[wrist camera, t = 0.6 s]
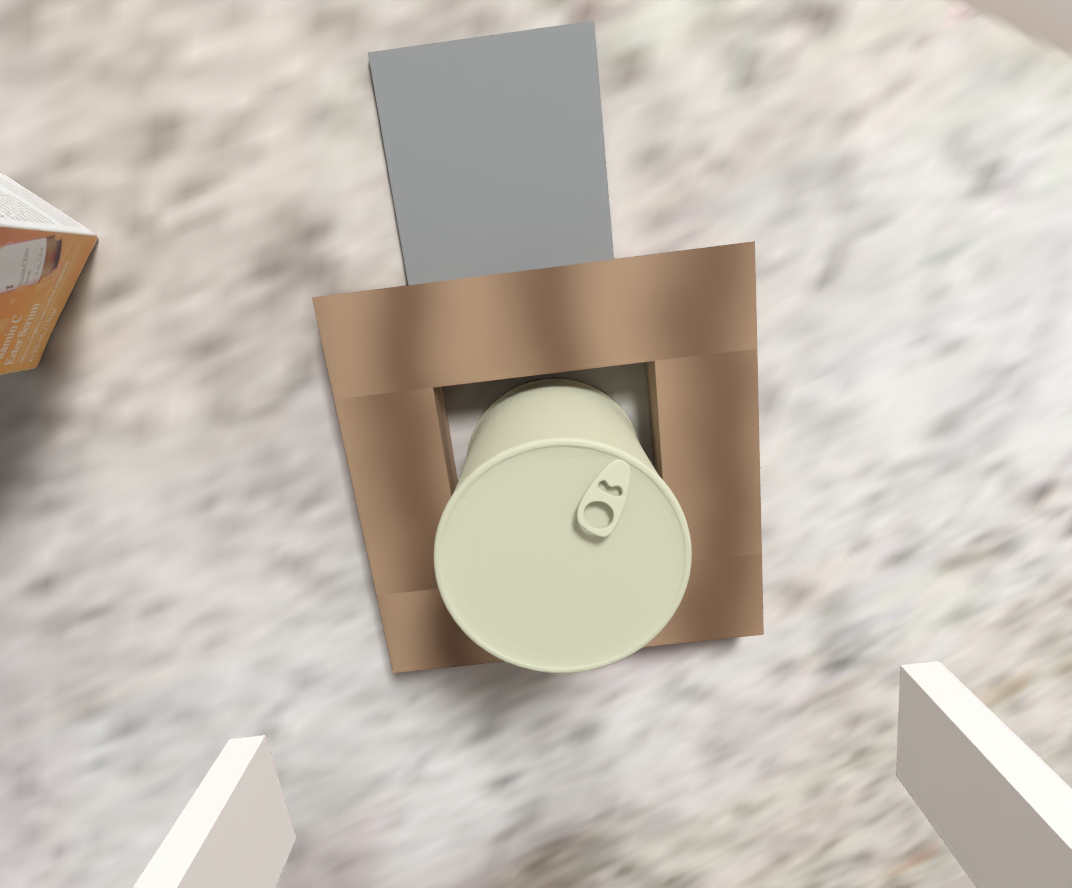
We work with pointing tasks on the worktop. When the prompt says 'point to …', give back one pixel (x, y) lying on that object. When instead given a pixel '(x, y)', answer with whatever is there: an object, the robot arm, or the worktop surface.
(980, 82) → the worktop surface
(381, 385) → the housing
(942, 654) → the worktop surface
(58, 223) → the small box
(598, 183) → the mat
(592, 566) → the can
